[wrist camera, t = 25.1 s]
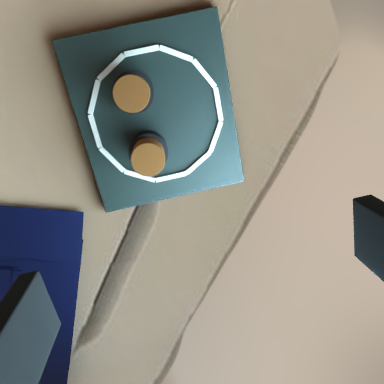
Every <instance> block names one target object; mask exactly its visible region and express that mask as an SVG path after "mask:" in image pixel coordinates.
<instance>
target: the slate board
mask: <svg viewBox="0 0 384 384" xmlns="http://www.w3.org/2000/svg"><path fill="white" fill-rule="evenodd" d="M52 43H53V46H54V49H55V52H56V55H57V59H58V62H59V65H60V68H61V71H62V74H63V78H64V81H65V84H66V87H67V90H68V93H69V97H70V100H71V103H72V106H73V109H74V113H75V116H76V119H77V122H78V125H79V128H80V132H81V135H82V138H83V141H84V144H85V147H86V151H87V154H88V157H89V160H90V163H91V166H92V170H93V173H94V176H95V179H96V182H97V185H98V189H99V192H100V195H101V198H102V201H103V204H104V208H105V211H106V212H111V211H115V210H120V209H124V208H129V207H133V206H137V205H142V204H146V203H151V202H155V201H159V200H164V199H168V198H173V197H177V196H181V195H186V194H190V193H195V192H199V191H203V190H208V189H212V188H217V187H221V186H225V185H230V184H234V183H239V182H243V181H244V178H243V171H242V165H241V158H240V152H239V145H238V139H237V132H236V126H235V119H234V113H233V106H232V100H231V93H230V87H229V81H228V74H227V68H226V61H225V55H224V48H223V42H222V35H221V29H220V22H219V16H218V9H217V6H215V7H210V8H205V9H201V10H196V11H191V12H186V13H181V14H176V15H172V16H167V17H162V18H157V19H152V20H147V21H143V22H138V23H133V24H128V25H123V26H118V27H114V28H109V29H104V30H99V31H94V32H89V33H85V34H80V35H75V36H70V37H65V38H60V39H56V40H52ZM130 70H134V71H139V72H141V73H143V74H145V75H146V76H147V77H148V78H149V79H150V80H151V82H152V84H153V86H154V92H155V95H154V100H153V103H152V105H151V106H150V107H149V108H148V109H147V110H146V111H144V112H142V113H140V114H129V113H126V112H124V111H122V110H121V109H120V108H119V107H118V106H117V105H116V103H115V102H114V99H113V96H112V86H113V83H114V81H115V79H116V78H117V77H118V76H119V75H120V74H121V73H123V72H125V71H130ZM143 131H154V132H157V133H158V134H160V135H161V136H162V137H163V138H164V139H165V141H166V143H167V147H168V159H167V161H166V163H165V165H164V167H163V169H162V170H161V171H160V172H159V173H158V174H156V175H154V176H143V175H140V174H138V173H137V172H136V171H135V170H134V169H133V167H132V165H131V161H130V158H129V147H130V144H131V141H132V139H133V138H134V137H135V136H136V135H137V134H138V133H140V132H143Z"/></svg>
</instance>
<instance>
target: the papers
mask: <svg viewBox="0 0 384 384" xmlns="http://www.w3.org/2000/svg"><path fill="white" fill-rule="evenodd" d="M82 228H83V212H74V211H62V210H49V209H36V208H24V207H11V206H0V302H1V300H2V299H3V298H4V296H5V295H6V293H7V292H8V290H9V289H10V287H11V286H12V285H13V283H14V282H15V280H16V279H17V277H18V276H19V275H20V274H24V273H28V272H33V271H37V270H39V273H40V275H41V277H42V280H43V282H44V284H45V287H46V289H47V292H48V294H49V296H50V299H51V301H52V303H53V306H54V308H55V311H56V313H57V315H58V318H59V320H60V322H61V326H60V328H59V331H58V333H57V336H56V339H55V341H54V344H53V346H52V349H51V352H50V354H49V357H48V359H47V362H46V365H45V367H44V370H43V372H42V375H41V378H40V380H39V383H38V384H67V378H68V370H69V363H70V354H71V345H72V336H73V327H74V317H75V308H76V299H77V290H78V281H79V271H80V264H81V254H82V244H83V239H82Z"/></svg>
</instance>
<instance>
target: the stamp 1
mask: <svg viewBox="0 0 384 384" xmlns="http://www.w3.org/2000/svg"><path fill="white" fill-rule="evenodd" d="M154 95H155V92H154V86H153V84H152V82H151V80H150V79H149V78H148V77H147V76H146V75H145V74H143V73H141V72H139V71H134V70H130V71H125V72H123V73H121V74H120V75H119V76H118V77H117V78H116V79H115V81H114V83H113V86H112V96H113V99H114V102H115V103H116V105H117V106H118V107H119V108H120V109H121V110H122V111H124V112H126V113H129V114H140V113H142V112H144V111H146V110H147V109H148V108H149V107H150V106H151V105H152V103H153V100H154Z"/></svg>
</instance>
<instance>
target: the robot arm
mask: <svg viewBox="0 0 384 384" xmlns="http://www.w3.org/2000/svg"><path fill="white" fill-rule="evenodd" d="M353 215H354V247H355V256H356V257H357V258H358V259H359V260H360V261H361V262H362V263H363V264H365V265H366V266H367V267H368V268H369V269H370V270H371V271H372V272H374V273H375V274H376V275H377V276H378V277H379V278H381V280H382V281H384V202H383V201H381V200H380V199H378V198H376V197H374V196H372V195H367V196H363V197H358V198H354V199H353ZM60 326H61V322H60V320H59V318H58V315H57V313H56V311H55V308H54V306H53V303H52V301H51V299H50V296H49V294H48V292H47V289H46V287H45V284H44V282H43V280H42V277H41V275H40V273H39V270H37V271H33V272H28V273H24V274H20V275H19V276H18V277H17V279H16V280H15V282H14V283H13V285H12V286H11V287H10V289H9V290H8V292H7V293H6V295H5V296H4V298H3V299H2V300H1V302H0V384H38V383H39V380H40V378H41V375H42V372H43V370H44V367H45V365H46V362H47V359H48V357H49V354H50V352H51V349H52V346H53V344H54V341H55V339H56V336H57V333H58V331H59V328H60Z"/></svg>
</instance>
